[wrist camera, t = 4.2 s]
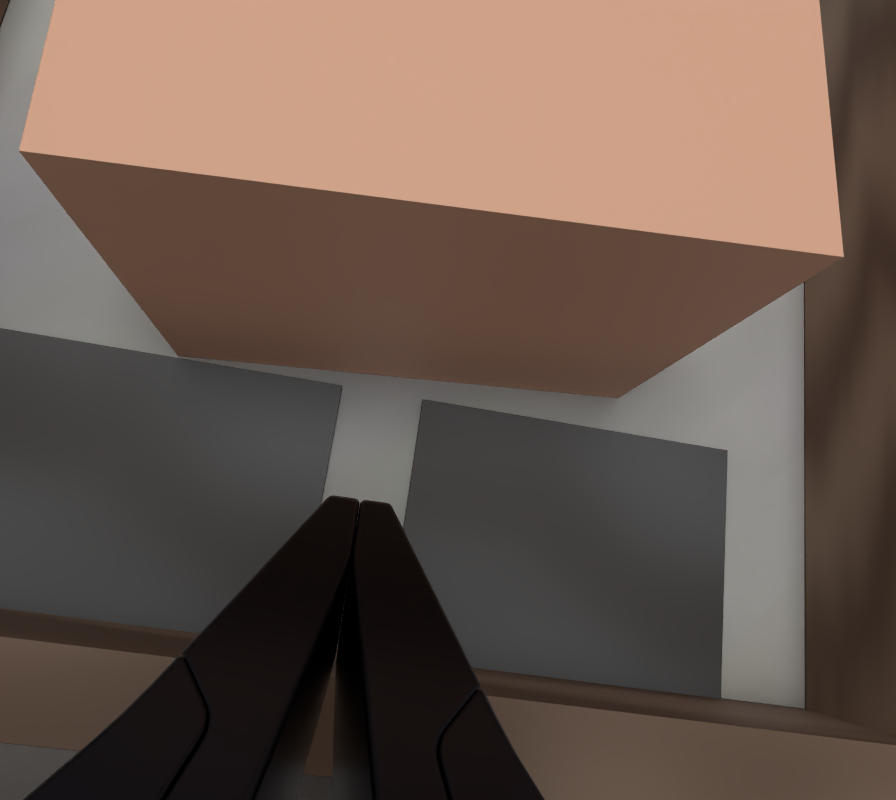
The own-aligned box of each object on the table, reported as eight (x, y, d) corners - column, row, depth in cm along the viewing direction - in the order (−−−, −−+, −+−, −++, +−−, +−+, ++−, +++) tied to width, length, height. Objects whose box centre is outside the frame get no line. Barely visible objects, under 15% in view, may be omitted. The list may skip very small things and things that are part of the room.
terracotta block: (615, 399, 18) (843, 256, 10) (180, 358, 16) (18, 150, 8) (613, -33, 21) (780, -406, 13) (253, -98, 20) (191, -559, 12)
